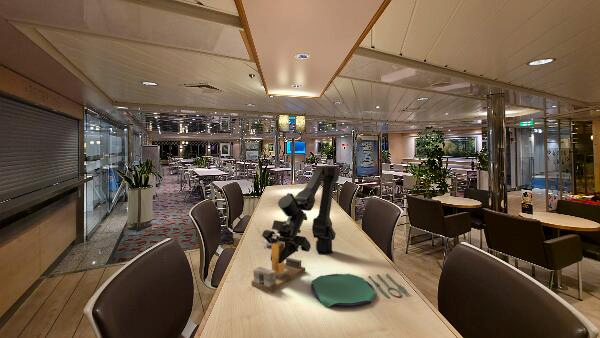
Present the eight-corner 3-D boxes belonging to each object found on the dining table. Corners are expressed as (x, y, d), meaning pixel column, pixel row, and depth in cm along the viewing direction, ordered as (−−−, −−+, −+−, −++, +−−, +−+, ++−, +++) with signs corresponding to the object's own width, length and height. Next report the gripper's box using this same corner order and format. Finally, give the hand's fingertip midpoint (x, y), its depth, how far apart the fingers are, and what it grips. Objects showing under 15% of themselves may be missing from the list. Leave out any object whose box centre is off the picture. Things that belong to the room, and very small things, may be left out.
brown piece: (286, 266, 107) (285, 252, 107) (305, 271, 102) (305, 256, 102) (251, 285, 91) (251, 268, 91) (272, 292, 86) (271, 275, 86)
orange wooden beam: (277, 270, 99) (276, 240, 99) (288, 273, 96) (287, 243, 96) (255, 282, 90) (254, 249, 90) (266, 286, 87) (266, 252, 87)
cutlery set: (305, 281, 94) (305, 274, 94) (386, 275, 99) (386, 269, 99) (318, 314, 75) (318, 306, 75) (419, 305, 80) (419, 297, 80)
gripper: (264, 208, 103) (243, 245, 95) (306, 214, 93) (286, 255, 84) (278, 224, 110) (259, 260, 102) (318, 231, 100) (301, 272, 91)
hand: (275, 261), depth 94 cm, fingers closed on orange wooden beam, 3 cm apart
